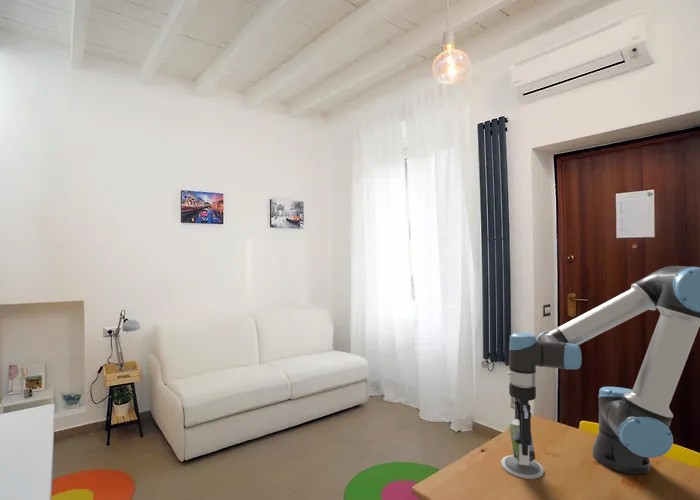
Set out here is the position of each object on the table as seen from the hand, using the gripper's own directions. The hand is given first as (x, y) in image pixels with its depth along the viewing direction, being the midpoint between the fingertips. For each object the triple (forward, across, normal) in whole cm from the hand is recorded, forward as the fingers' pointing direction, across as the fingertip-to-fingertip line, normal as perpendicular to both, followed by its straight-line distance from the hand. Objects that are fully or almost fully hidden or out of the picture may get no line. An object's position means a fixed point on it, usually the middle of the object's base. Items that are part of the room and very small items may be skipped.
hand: (522, 458), depth 120 cm
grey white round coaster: (+3, 0, 0) cm, 3 cm away
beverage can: (+1, 0, 0) cm, 1 cm away
